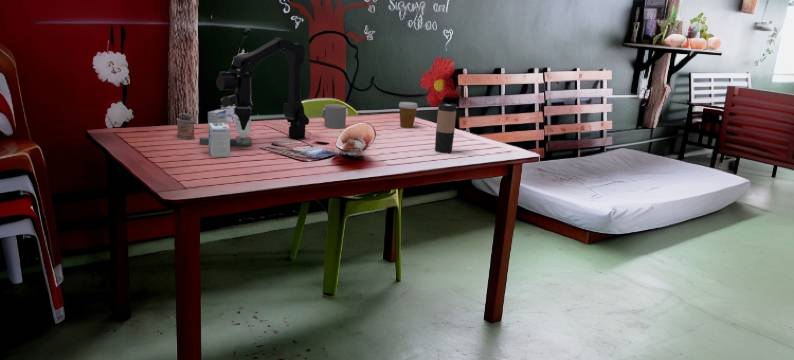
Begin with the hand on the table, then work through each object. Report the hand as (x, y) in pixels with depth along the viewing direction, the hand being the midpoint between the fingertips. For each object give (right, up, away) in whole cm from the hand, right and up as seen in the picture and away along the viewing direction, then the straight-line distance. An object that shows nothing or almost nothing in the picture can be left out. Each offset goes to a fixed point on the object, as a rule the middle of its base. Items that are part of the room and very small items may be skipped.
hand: (243, 128), depth 238 cm
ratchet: (-7, -6, 0) cm, 10 cm away
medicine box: (-17, +1, +24) cm, 29 cm away
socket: (0, -1, 0) cm, 1 cm away
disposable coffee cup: (+65, +6, +62) cm, 90 cm away
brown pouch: (-25, -3, +6) cm, 26 cm away
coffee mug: (+30, +5, +52) cm, 60 cm away
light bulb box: (-5, -11, -14) cm, 18 cm away
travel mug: (+80, -8, +16) cm, 82 cm away
